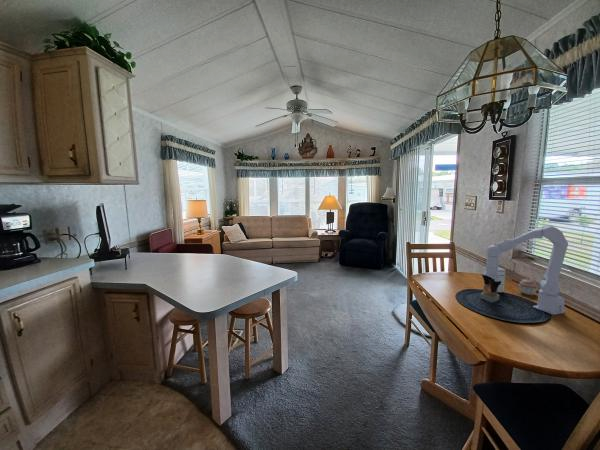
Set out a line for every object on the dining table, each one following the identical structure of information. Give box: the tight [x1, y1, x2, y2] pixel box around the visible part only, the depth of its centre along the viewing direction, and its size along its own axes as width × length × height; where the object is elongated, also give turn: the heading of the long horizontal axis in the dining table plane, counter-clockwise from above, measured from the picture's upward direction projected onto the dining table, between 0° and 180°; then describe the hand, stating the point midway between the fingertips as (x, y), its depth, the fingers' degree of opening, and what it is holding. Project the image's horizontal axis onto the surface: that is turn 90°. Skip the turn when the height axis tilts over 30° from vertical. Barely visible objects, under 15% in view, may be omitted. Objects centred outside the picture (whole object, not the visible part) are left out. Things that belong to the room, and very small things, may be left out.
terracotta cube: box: [482, 283, 498, 296], centre depth 147 cm, size 4×4×5 cm
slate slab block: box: [479, 292, 500, 304], centre depth 147 cm, size 6×6×4 cm
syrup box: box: [492, 266, 506, 293], centre depth 159 cm, size 6×6×14 cm
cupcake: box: [517, 277, 540, 296], centre depth 154 cm, size 9×9×10 cm
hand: (490, 289), depth 147 cm, fingers open, 7 cm apart
